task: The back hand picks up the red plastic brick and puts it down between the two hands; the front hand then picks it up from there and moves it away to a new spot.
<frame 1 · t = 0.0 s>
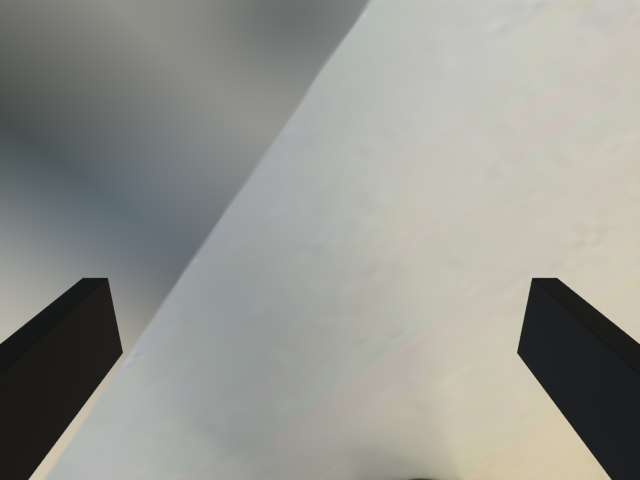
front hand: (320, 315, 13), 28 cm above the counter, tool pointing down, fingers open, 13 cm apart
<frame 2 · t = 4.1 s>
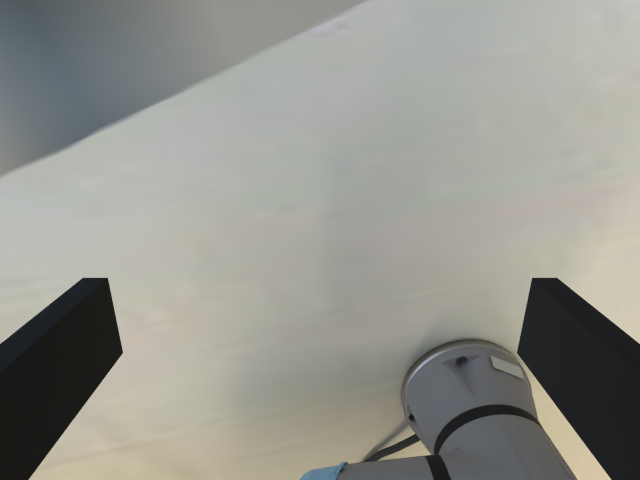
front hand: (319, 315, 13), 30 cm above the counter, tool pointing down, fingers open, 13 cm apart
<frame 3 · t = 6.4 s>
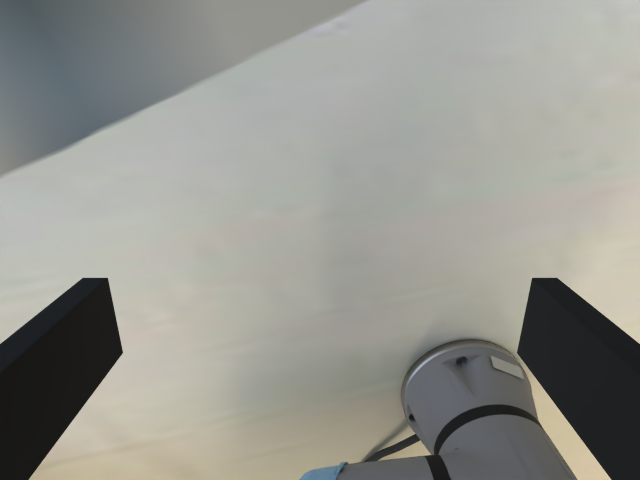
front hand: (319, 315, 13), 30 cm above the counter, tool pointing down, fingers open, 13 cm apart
when the back hand's fingers open (4 cm above the counter, at t = 9.0 s): brick drops 1 cm, on the counter.
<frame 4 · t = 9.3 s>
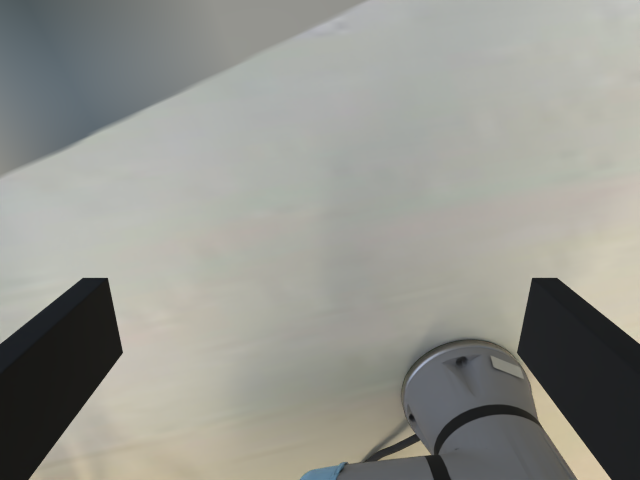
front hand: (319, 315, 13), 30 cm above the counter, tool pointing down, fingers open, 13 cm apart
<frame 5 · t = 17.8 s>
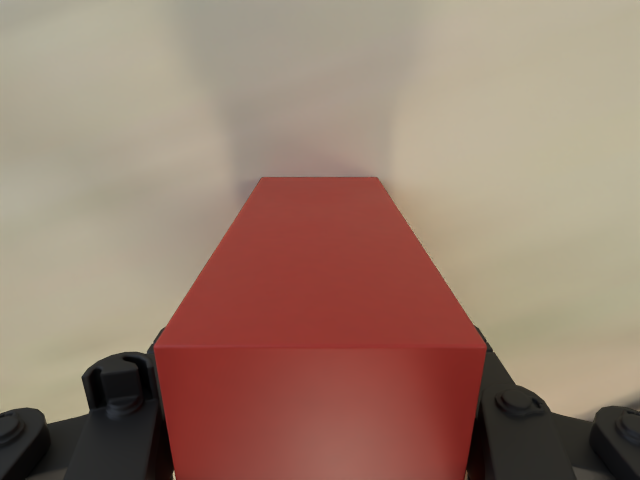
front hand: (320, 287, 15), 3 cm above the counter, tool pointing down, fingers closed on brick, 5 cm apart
brick: (319, 252, 18), on the counter, touching front hand
when the front hand's fingers open (4 cm above the counter, at t = 25.0 s): brick drops 1 cm, on the counter.
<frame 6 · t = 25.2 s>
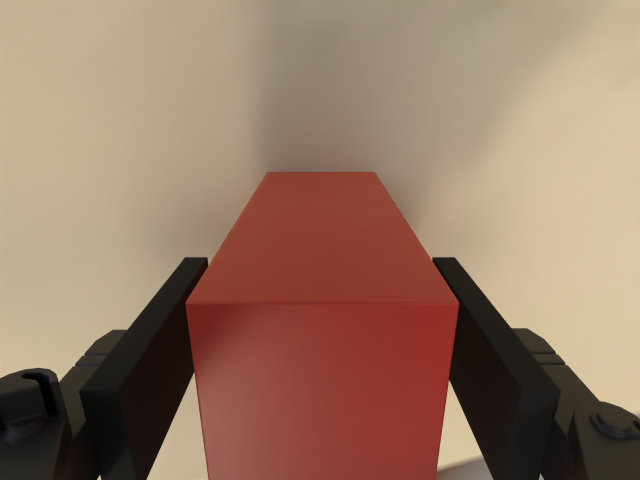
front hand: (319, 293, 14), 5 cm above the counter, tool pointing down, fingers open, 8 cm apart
brick: (320, 242, 19), on the counter
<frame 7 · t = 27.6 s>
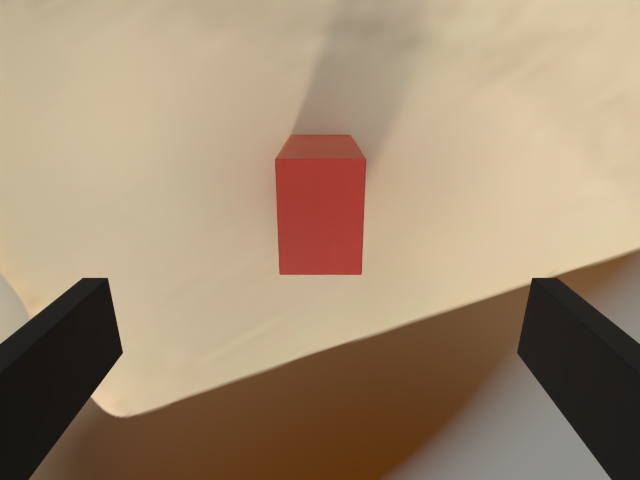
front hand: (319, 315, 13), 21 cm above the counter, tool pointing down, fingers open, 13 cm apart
brick: (320, 176, 33), on the counter
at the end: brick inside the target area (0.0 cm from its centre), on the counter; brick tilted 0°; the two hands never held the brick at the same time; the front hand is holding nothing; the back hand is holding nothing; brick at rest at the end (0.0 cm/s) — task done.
